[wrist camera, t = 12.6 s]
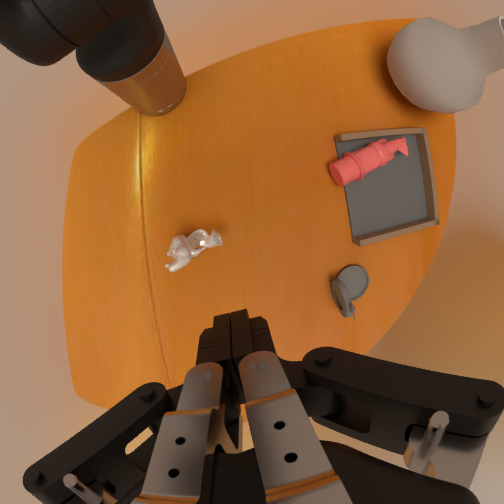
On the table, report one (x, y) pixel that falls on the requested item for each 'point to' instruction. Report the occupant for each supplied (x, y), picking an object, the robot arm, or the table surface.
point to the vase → (445, 62)
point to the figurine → (190, 247)
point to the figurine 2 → (366, 160)
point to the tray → (391, 188)
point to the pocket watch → (349, 288)
